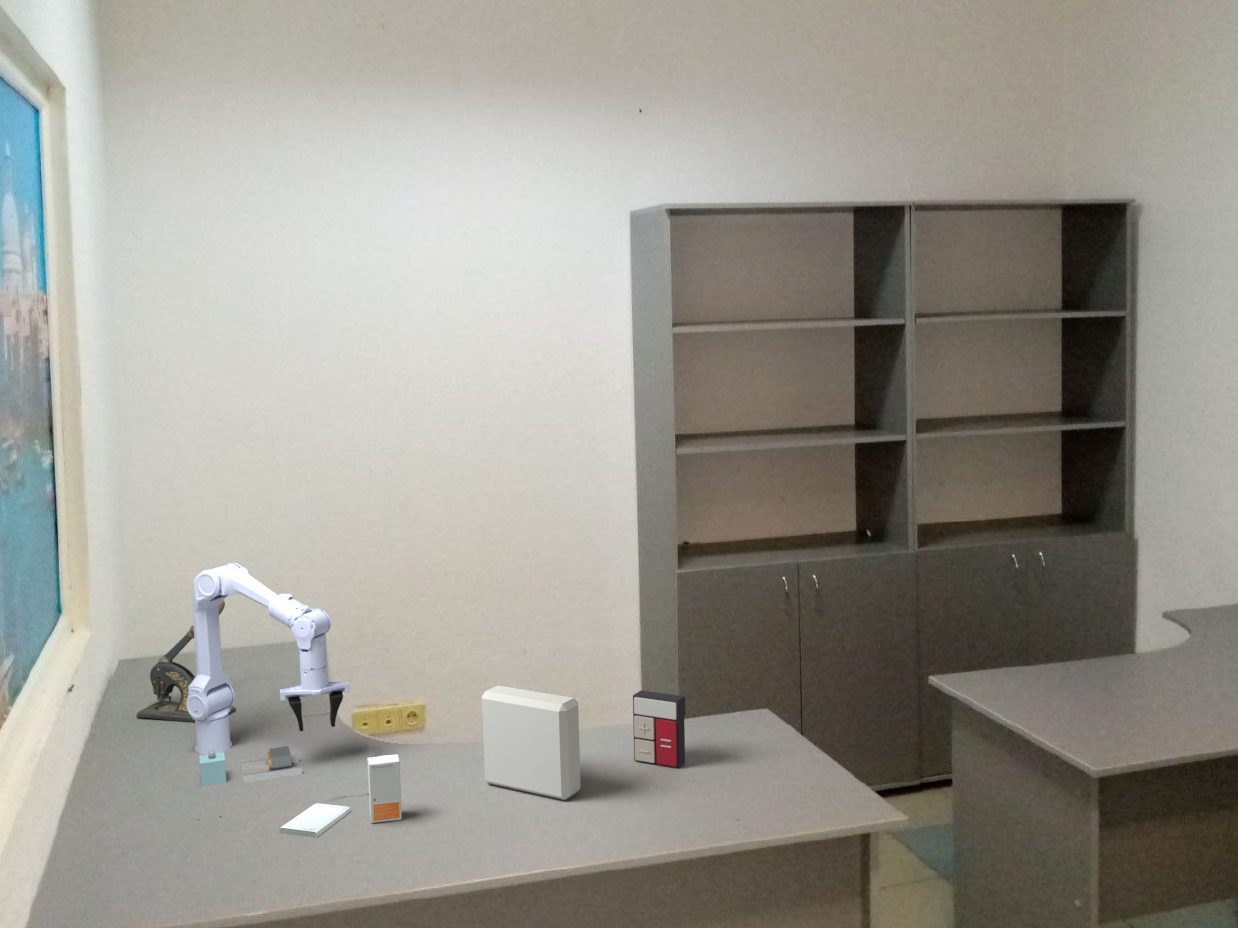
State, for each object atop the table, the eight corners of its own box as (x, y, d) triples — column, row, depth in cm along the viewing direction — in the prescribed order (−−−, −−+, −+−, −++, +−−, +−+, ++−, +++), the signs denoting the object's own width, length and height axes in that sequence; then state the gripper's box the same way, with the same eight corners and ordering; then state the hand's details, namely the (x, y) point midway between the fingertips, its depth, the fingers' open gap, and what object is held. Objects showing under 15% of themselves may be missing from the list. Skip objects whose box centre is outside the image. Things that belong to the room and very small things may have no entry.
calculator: (632, 762, 257) (630, 695, 256) (641, 755, 261) (639, 689, 259) (678, 769, 252) (676, 701, 250) (686, 763, 256) (685, 695, 254)
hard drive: (316, 832, 223) (350, 805, 234) (278, 827, 225) (314, 801, 237) (316, 840, 223) (351, 813, 235) (279, 835, 225) (315, 809, 237)
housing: (200, 778, 251) (198, 748, 251) (225, 774, 253) (223, 745, 252) (201, 786, 247) (199, 756, 246) (226, 782, 248) (224, 752, 248)
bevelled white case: (587, 789, 243) (584, 695, 240) (565, 803, 236) (562, 706, 234) (504, 772, 253) (500, 681, 251) (481, 785, 247) (477, 691, 244)
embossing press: (162, 705, 305) (154, 591, 302) (242, 711, 299) (235, 595, 295) (134, 719, 295) (125, 601, 291) (216, 725, 288) (208, 605, 285)
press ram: (267, 766, 257) (266, 748, 256) (289, 763, 258) (288, 745, 258) (269, 776, 251) (268, 758, 250) (292, 772, 253) (290, 754, 252)
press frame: (192, 778, 254) (191, 766, 254) (297, 762, 262) (296, 751, 261) (193, 798, 243) (192, 786, 243) (303, 781, 251) (302, 769, 250)
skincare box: (371, 824, 228) (368, 764, 227) (369, 815, 232) (366, 756, 231) (402, 820, 230) (400, 760, 228) (400, 811, 234) (398, 753, 232)
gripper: (280, 675, 249) (284, 738, 250) (350, 667, 254) (353, 728, 255) (277, 667, 255) (281, 727, 257) (345, 658, 260) (348, 718, 262)
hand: (317, 727), depth 256 cm, fingers open, 6 cm apart
